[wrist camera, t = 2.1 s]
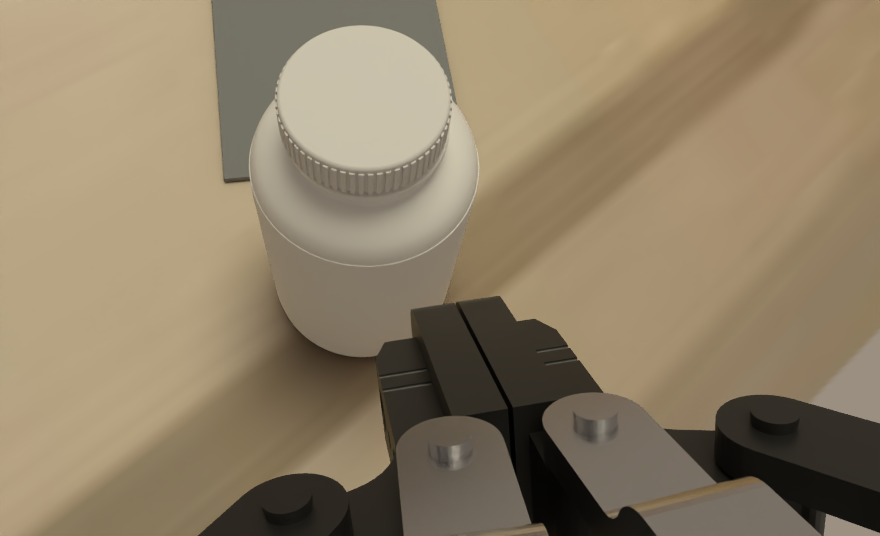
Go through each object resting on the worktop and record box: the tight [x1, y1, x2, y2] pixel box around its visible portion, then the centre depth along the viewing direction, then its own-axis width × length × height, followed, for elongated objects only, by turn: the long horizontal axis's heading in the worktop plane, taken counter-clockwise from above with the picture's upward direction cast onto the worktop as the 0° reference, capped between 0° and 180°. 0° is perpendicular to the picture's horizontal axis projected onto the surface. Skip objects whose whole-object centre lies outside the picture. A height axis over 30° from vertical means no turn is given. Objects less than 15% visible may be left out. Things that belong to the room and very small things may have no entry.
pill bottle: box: [249, 25, 479, 357], centre depth 31 cm, size 8×8×15 cm
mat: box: [212, 0, 457, 182], centre depth 43 cm, size 18×12×1 cm, turn 9°
